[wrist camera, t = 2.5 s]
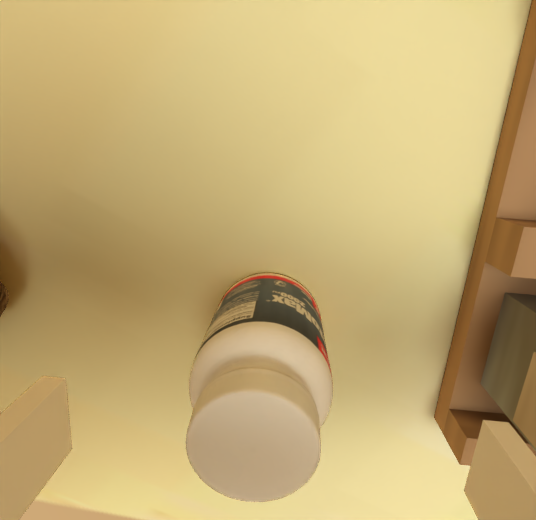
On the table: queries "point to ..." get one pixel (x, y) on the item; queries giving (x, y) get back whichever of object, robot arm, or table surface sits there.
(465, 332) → the rail
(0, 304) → the mushroom
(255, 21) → the table surface
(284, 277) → the pill bottle
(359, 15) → the table surface
